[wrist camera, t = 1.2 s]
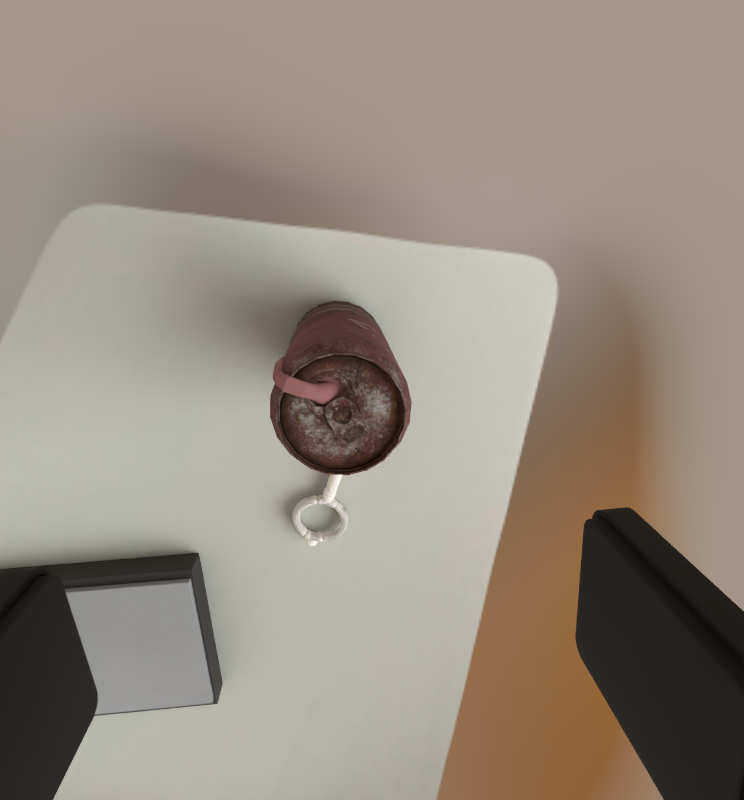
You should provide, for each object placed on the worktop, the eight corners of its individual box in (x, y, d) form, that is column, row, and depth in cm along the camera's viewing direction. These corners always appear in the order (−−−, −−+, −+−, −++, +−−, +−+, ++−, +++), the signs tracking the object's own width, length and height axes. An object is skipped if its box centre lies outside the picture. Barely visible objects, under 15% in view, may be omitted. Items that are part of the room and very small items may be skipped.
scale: (39, 700, 42) (21, 729, 39) (-6, 569, 37) (-28, 592, 35) (222, 683, 42) (216, 709, 40) (199, 552, 38) (190, 573, 36)
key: (284, 533, 38) (336, 548, 39) (282, 540, 37) (336, 555, 38) (335, 391, 35) (391, 409, 36) (335, 394, 34) (393, 413, 35)
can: (308, 284, 33) (291, 319, 19) (397, 321, 34) (438, 378, 20) (276, 368, 34) (240, 453, 21) (362, 400, 35) (379, 501, 22)
